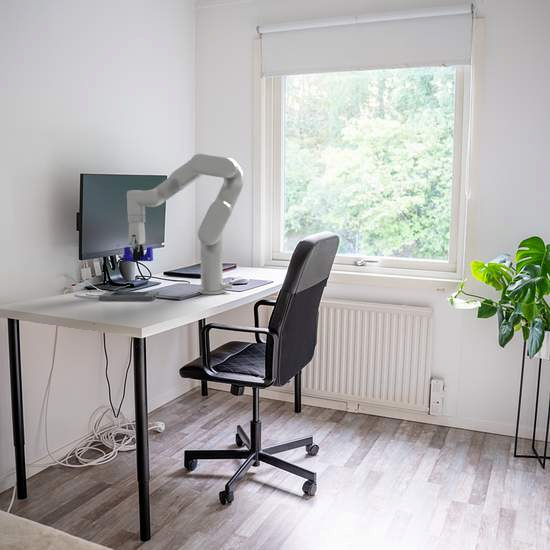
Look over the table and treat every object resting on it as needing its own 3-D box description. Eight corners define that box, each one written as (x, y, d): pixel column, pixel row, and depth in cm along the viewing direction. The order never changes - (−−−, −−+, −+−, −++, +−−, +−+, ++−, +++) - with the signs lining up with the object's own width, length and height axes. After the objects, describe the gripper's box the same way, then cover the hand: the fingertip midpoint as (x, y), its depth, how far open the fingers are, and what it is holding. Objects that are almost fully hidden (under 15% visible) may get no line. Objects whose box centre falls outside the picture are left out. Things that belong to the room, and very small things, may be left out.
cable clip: (123, 261, 283) (122, 247, 282) (127, 260, 287) (126, 246, 286) (149, 261, 281) (148, 248, 280) (153, 260, 285) (152, 246, 284)
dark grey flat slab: (159, 296, 279) (158, 291, 278) (152, 301, 269) (152, 295, 268) (107, 295, 281) (107, 290, 280) (99, 300, 271) (99, 295, 271)
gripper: (134, 217, 289) (136, 257, 292) (122, 220, 273) (124, 262, 276) (150, 217, 289) (152, 257, 292) (139, 220, 272) (141, 262, 275)
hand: (138, 259), depth 284 cm, fingers closed on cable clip, 4 cm apart
